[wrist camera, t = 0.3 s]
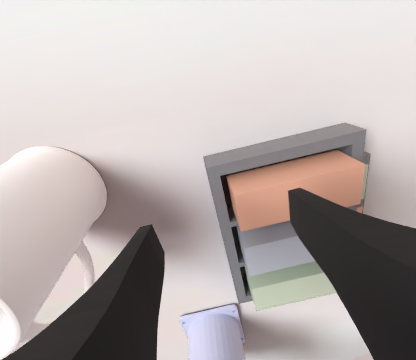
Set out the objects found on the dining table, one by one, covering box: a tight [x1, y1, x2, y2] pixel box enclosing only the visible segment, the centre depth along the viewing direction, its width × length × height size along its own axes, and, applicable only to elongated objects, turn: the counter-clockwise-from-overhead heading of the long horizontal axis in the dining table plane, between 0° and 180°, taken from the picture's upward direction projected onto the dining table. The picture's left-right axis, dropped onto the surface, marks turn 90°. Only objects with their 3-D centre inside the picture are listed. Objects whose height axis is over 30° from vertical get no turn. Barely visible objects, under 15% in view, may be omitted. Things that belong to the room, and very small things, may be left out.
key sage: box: [244, 261, 337, 311], centre depth 24 cm, size 4×10×3 cm, turn 102°
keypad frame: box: [203, 123, 366, 304], centre depth 23 cm, size 18×13×3 cm
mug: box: [0, 146, 107, 360], centre depth 15 cm, size 12×8×12 cm
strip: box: [357, 152, 370, 213], centre depth 24 cm, size 11×2×1 cm, turn 12°
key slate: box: [236, 220, 315, 276], centre depth 21 cm, size 4×10×3 cm, turn 102°
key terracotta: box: [226, 150, 365, 232], centre depth 19 cm, size 4×10×3 cm, turn 102°
